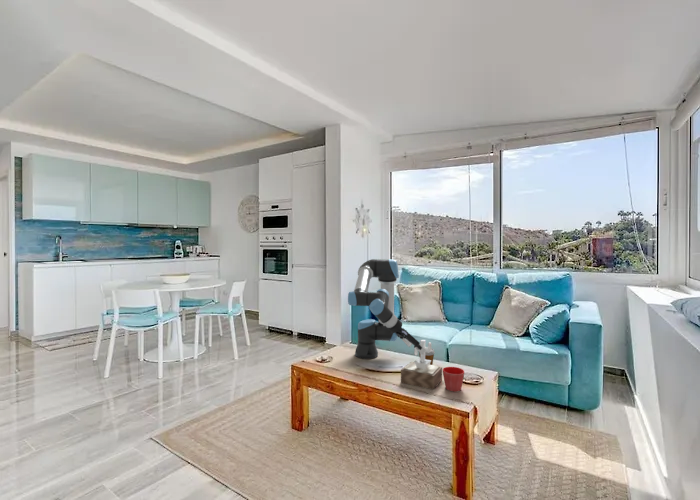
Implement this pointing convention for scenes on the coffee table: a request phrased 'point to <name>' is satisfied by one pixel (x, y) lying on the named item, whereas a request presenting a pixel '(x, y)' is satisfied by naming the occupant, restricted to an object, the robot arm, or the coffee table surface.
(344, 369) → the coffee table surface
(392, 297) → the robot arm
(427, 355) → the disposable coffee cup
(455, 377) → the flower pot
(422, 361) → the figurine
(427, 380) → the chevron patterned box
